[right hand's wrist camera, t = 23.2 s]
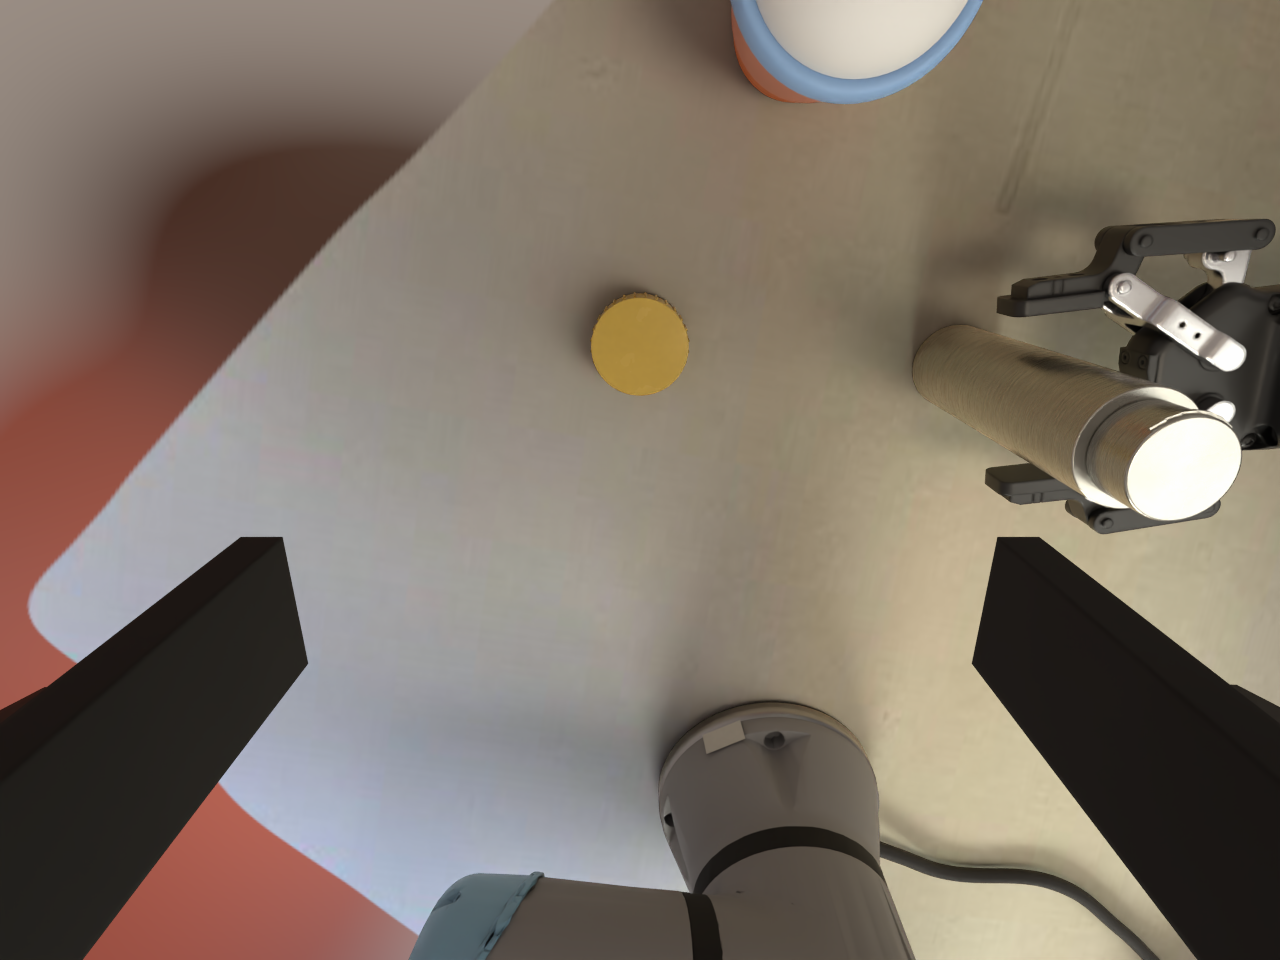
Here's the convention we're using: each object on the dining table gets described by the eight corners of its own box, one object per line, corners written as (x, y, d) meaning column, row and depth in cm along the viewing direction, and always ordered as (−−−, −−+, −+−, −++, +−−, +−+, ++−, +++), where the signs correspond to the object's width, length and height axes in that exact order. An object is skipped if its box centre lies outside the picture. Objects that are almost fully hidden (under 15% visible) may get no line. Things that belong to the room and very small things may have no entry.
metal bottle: (1008, 373, 38) (1279, 482, 22) (936, 420, 39) (1145, 558, 23) (970, 307, 37) (1227, 371, 21) (896, 358, 38) (1087, 458, 22)
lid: (576, 317, 37) (572, 323, 35) (663, 275, 36) (664, 278, 34) (618, 401, 39) (616, 412, 37) (702, 362, 38) (705, 371, 36)
